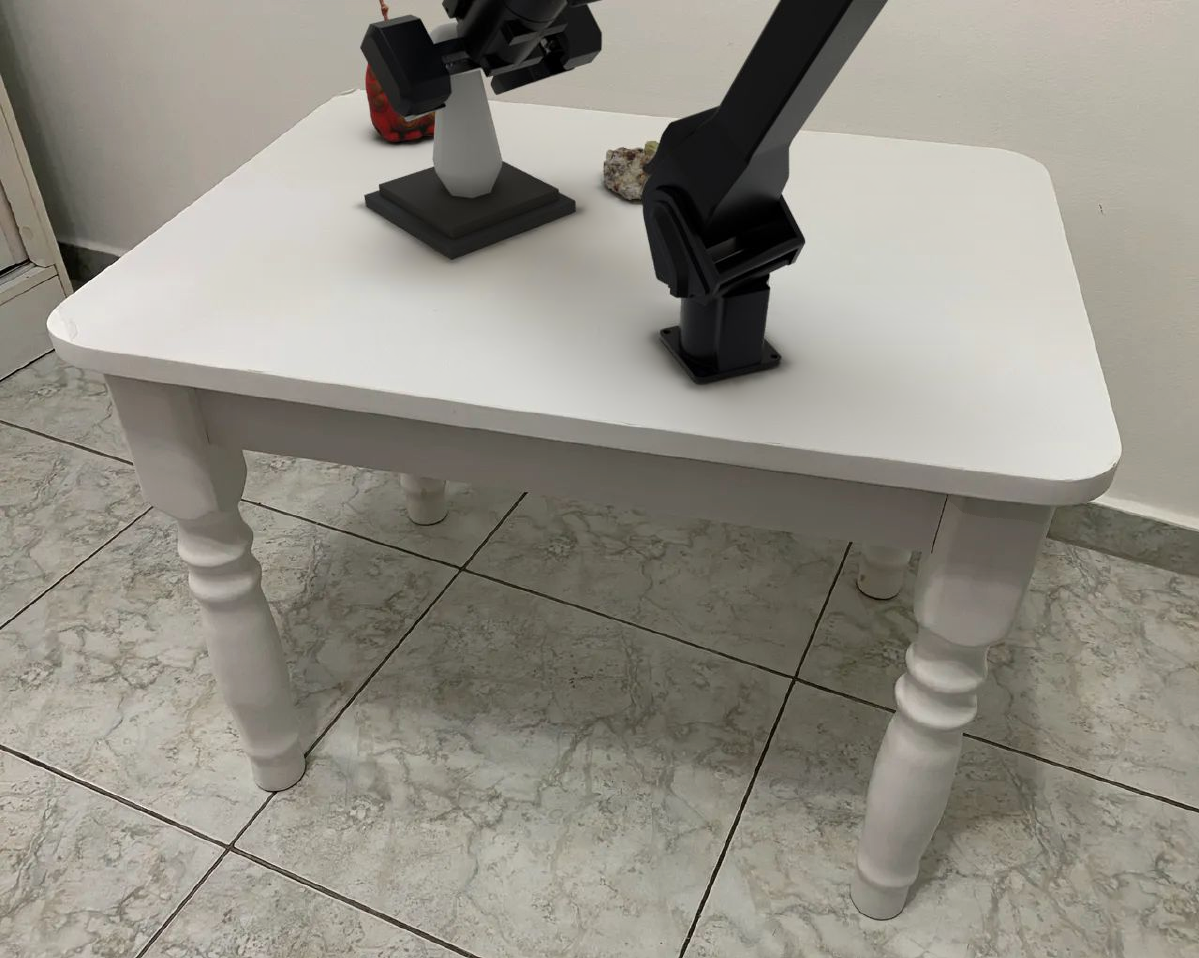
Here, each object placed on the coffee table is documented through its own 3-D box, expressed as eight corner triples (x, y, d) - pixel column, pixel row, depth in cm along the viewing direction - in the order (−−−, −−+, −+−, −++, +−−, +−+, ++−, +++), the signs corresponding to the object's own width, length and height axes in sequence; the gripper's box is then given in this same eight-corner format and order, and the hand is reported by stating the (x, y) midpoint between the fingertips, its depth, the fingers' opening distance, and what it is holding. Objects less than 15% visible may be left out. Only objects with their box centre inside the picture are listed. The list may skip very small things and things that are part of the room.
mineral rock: (586, 173, 87) (614, 117, 91) (589, 213, 90) (616, 156, 94) (707, 194, 84) (730, 135, 88) (705, 234, 88) (728, 175, 92)
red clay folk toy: (396, 152, 96) (373, -17, 86) (356, 131, 100) (330, -33, 90) (460, 131, 100) (445, -33, 90) (420, 112, 104) (401, -47, 94)
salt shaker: (434, 176, 87) (415, 17, 79) (499, 170, 88) (488, 13, 80) (438, 205, 83) (419, 40, 74) (507, 199, 84) (496, 36, 75)
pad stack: (576, 211, 86) (575, 189, 85) (451, 259, 80) (449, 236, 79) (486, 165, 94) (484, 144, 93) (365, 205, 87) (361, 183, 86)
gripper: (576, -141, 73) (495, -9, 86) (351, -106, 63) (300, 36, 77) (648, -1, 73) (556, 108, 87) (435, 54, 64) (370, 167, 77)
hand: (450, 102), depth 82 cm, fingers open, 8 cm apart
